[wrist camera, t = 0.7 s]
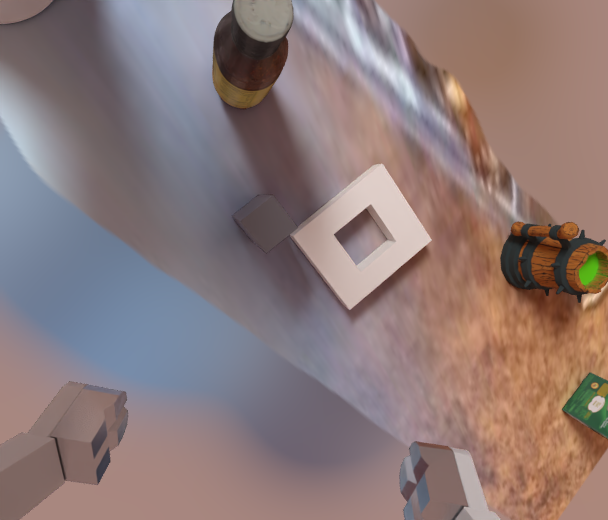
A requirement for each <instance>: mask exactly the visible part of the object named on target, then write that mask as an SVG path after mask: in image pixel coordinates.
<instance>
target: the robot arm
mask: <svg viewBox="0 0 608 520" xmlns="http://www.w3.org/2000/svg"><path fill="white" fill-rule="evenodd" d="M52 1H53V0H0V24H8V23H15V22H19V21H23V20H26V19H28V18H31V17H33V16H35V15H36V14H38V13H40V12H41V11H42V10H44V9H45V8H46V7H47V6H48V5H49V4H50V3H51V2H52ZM126 401H127V396H126V392H124V391H118V390H113V389H108V388H103V387H98V386H92V385H88V384H82V383H77V382H71V381H69V382H68V383H67V384H65V385H64V386H63V387H62V388H61V390H60V391H59V392H58V393H57V395H56V396H55V397H54V399H53V400H52V401H51V403H50V404H49V405H48V407H47V408H46V409H45V410H44V412H43V413H42V415H41V416H40V417H39V418H38V420H37V421H36V422H35V424H34V425H33V426H32V428H31V429H30V430H29V432H28V433H20V434H18V435H16V436H15V437H13V438H11V439H9V440H7V441H6V442H4V443H2V444H1V445H0V520H20V519H21V518H22V517H23V516H25V515H26V514H27V513H28V512H30V511H31V510H32V509H33V508H34V507H36V506H37V505H38V504H39V503H41V502H42V501H43V500H44V499H46V498H47V497H48V496H49V495H50V494H52V493H53V492H54V491H55V490H57V489H58V488H59V487H60V486H62V485H63V484H64V483H65V481H71V482H79V483H86V484H94V485H98V484H99V482H100V480H101V478H102V476H103V474H104V473H105V471H106V469H107V467H108V465H109V463H110V451H111V450H112V449H114V448H115V447H117V446H118V445H119V443H120V441H121V439H122V437H123V435H124V432H125V429H126V426H127V421H128V410H127V409H126V408H125V407H124V404H125V403H126ZM409 450H410V455H409V456H407V457H405V458H404V460H403V462H402V464H401V469H400V475H399V476H400V490H401V494H402V495H403V497H404V498H405V499H406V501H407V504H406V506H405V508H404V510H403V511H404V517H405V520H501V519H500V518H499V517H498V515H497V514H496V513H495V512H492V511H489V509H488V506H487V503H486V500H485V497H484V494H483V490H482V487H481V484H480V481H479V478H478V475H477V472H476V469H475V466H474V463H473V460H472V457H471V454H470V453H469V452H468V450H464V449H457V448H451V447H448V446H442V445H436V444H429V443H423V442H417V441H415V442H413V443H412V444H411V446H410V448H409Z"/></svg>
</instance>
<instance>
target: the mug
mask: <svg viewBox="0 0 608 520" xmlns="http://www.w3.org/2000/svg"><path fill="white" fill-rule="evenodd" d="M511 232H512V234H511V235H510V236H509V238H508V239H507V241H506V242H505V244H504V246H503V250H502V254H501V270H502V272H503V274H504V276H505V278H506V280H507V281H508V282H509V283H511V284H512V285H513V286H515V287H518V288H522V289H528V290H530V289H534V288H535V289H537V288H538V289H543V290H545V293H546V296H548V295H549V289H552V288H558V290H557V293H556V294H559V293H560V292H561V291H563V292H566V293H569V294H571V295H577V299H578V303H581V297H582V294H587V293H594V294H596V293H599V292H601V288H603V287H604V286H605V285H606V283H607V282H608V250H607V249H606V248H605V247H604V246H602V245H603V244H604V243H605V241H606V240H603V241H601V242H600V243H598V242H596V241H594V240H591V239H589V238H585V235H584V230H582V231H581V234H580V236H579V238H575V239H572V238H574V237H575V236H577V235H578V232H579V228H578V226H577V225H576V224H575V223H573V222H567V223H564V224H563V225H562V226H559V225H555V226H553V227H551V224H549V225H548V226H539V225H533V224H524V223H523V222H516V223H514V224H513V225H512V227H511Z"/></svg>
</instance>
